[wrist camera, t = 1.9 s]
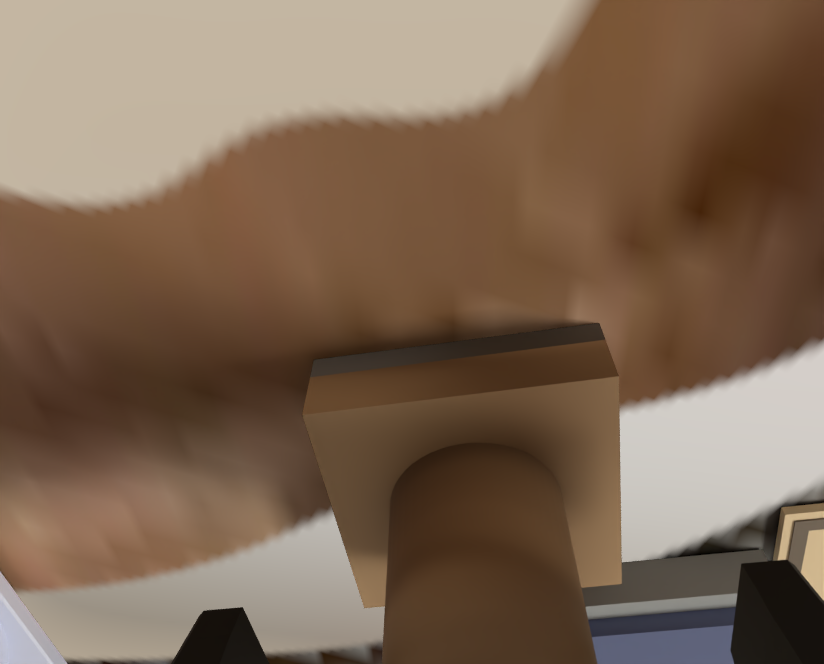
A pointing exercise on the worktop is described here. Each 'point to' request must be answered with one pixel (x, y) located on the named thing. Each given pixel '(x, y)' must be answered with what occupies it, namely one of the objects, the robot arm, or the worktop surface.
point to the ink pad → (668, 610)
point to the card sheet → (803, 542)
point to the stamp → (476, 490)
